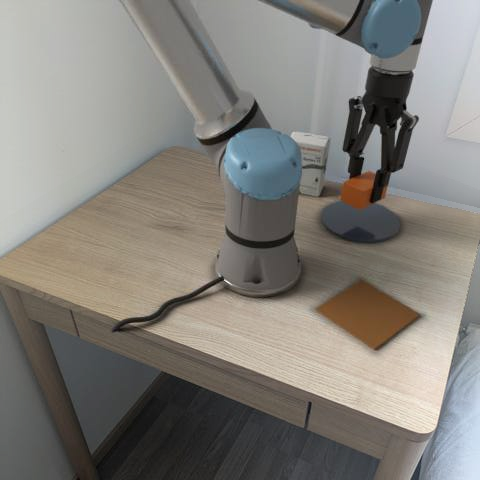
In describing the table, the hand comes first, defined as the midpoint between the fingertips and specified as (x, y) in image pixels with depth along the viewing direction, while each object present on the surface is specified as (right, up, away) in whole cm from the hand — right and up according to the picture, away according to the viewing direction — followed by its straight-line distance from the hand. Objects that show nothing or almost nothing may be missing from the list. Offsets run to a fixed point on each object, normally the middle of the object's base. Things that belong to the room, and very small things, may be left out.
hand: (363, 194), depth 98 cm
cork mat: (-4, -24, -17) cm, 30 cm away
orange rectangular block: (0, -1, +1) cm, 1 cm away
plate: (0, -4, +4) cm, 6 cm away
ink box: (-10, +5, +14) cm, 18 cm away
